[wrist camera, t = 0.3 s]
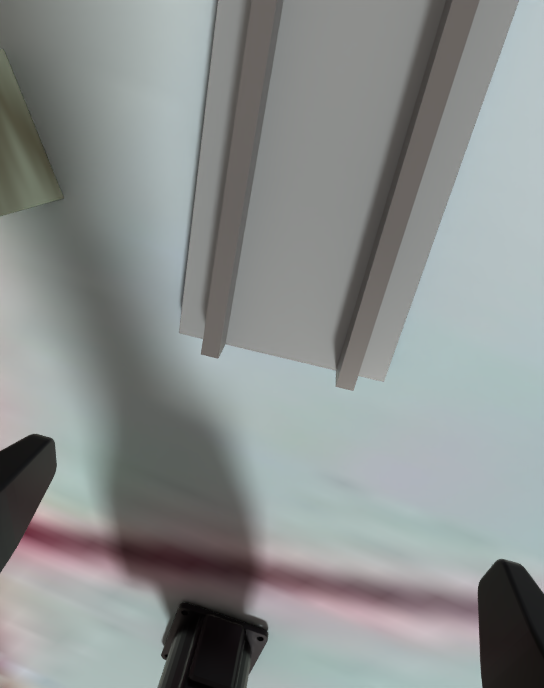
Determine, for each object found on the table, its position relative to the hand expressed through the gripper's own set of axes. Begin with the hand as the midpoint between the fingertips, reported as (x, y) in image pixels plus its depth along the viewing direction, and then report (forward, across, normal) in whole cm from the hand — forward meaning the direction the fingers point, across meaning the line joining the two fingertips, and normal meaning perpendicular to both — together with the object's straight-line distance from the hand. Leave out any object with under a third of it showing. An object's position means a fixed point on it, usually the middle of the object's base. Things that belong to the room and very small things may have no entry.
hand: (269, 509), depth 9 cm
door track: (+14, +1, -4) cm, 15 cm away
